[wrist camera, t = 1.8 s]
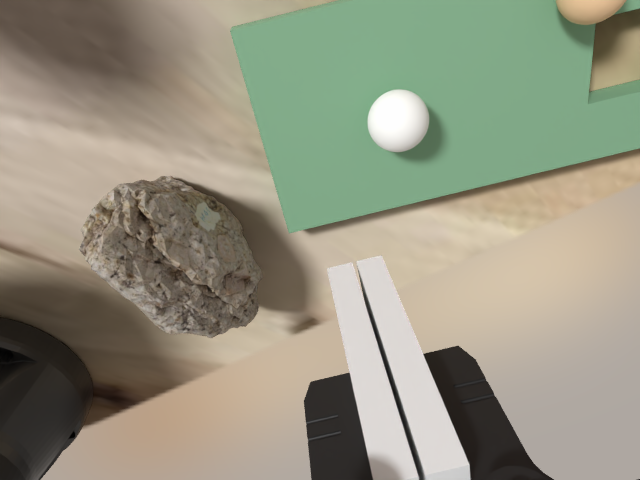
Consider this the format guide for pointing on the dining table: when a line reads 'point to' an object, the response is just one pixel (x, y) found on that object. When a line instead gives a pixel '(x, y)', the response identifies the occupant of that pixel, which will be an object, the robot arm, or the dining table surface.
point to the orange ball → (588, 10)
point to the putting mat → (425, 99)
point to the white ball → (398, 120)
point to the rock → (174, 256)
